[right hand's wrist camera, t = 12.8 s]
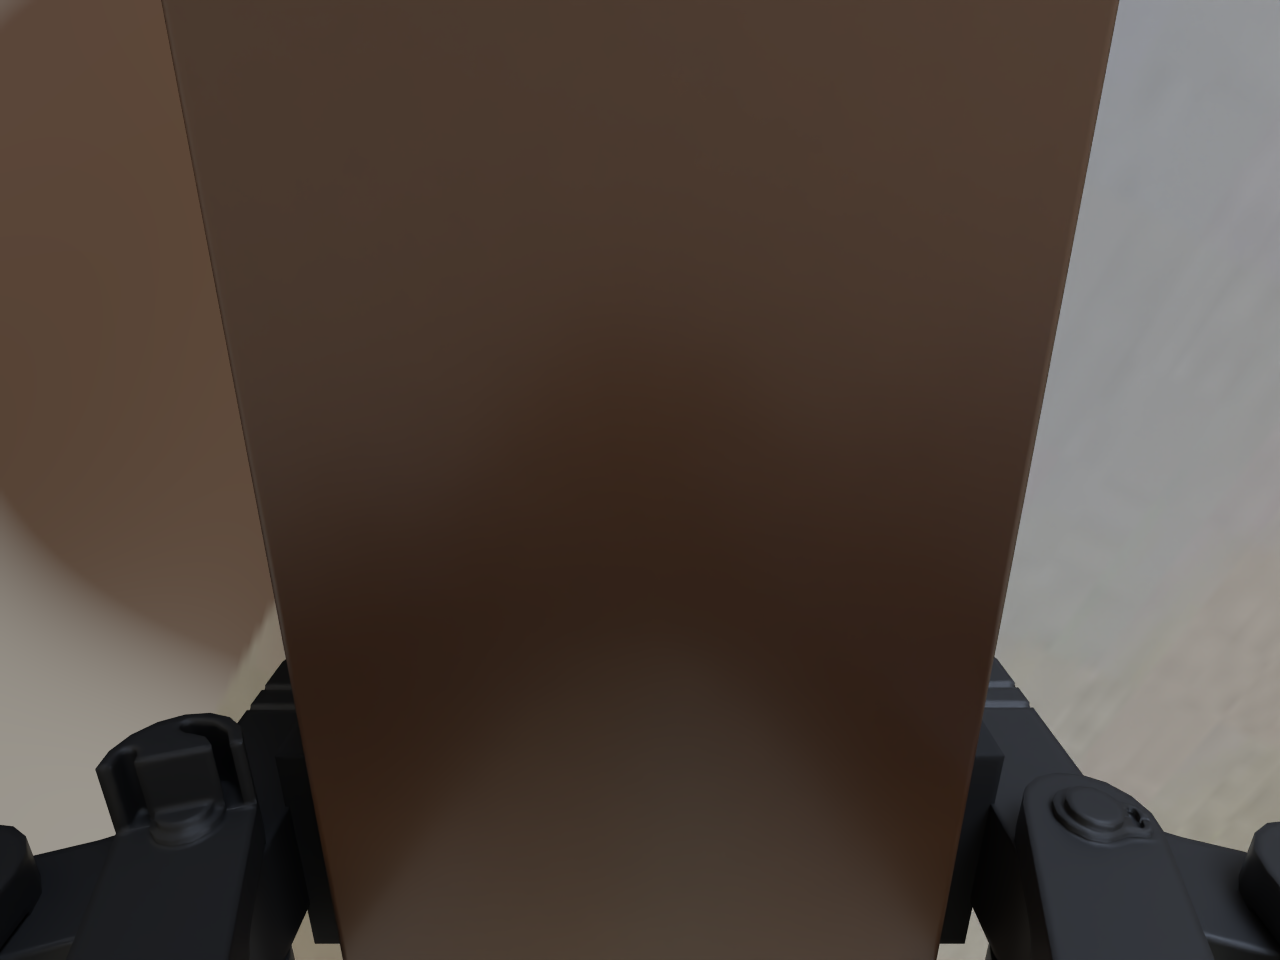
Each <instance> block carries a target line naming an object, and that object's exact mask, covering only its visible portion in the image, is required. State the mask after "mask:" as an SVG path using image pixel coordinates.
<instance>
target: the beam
mask: <svg viewBox="0 0 1280 960" xmlns="http://www.w3.org/2000/svg"><path fill="white" fill-rule="evenodd" d="M161 1H162V7H163V12H164V17H165V22H166V27H167V33H168V38H169V43H170V49H171V54H172V59H173V65H174V70H175V75H176V80H177V86H178V91H179V96H180V102H181V107H182V112H183V117H184V123H185V128H186V133H187V138H188V144H189V149H190V154H191V160H192V165H193V170H194V176H195V180H196V186H197V191H198V197H199V202H200V207H201V212H202V218H203V223H204V228H205V234H206V239H207V244H208V249H209V255H210V260H211V265H212V271H213V276H214V281H215V286H216V292H217V297H218V302H219V308H220V313H221V318H222V323H223V329H224V334H225V339H226V344H227V350H228V355H229V360H230V366H231V371H232V376H233V381H234V387H235V392H236V397H237V403H238V408H239V413H240V418H241V424H242V429H243V434H244V439H245V445H246V450H247V455H248V461H249V466H250V471H251V476H252V482H253V487H254V492H255V498H256V503H257V508H258V513H259V519H260V524H261V529H262V534H263V540H264V545H265V550H266V556H267V561H268V566H269V571H270V577H271V582H272V587H273V593H274V598H275V603H276V608H277V614H278V619H279V624H280V630H281V635H282V640H283V645H284V651H285V656H286V661H287V667H288V672H289V677H290V682H291V688H292V693H293V698H294V704H295V709H296V714H297V719H298V725H299V730H300V735H301V740H302V746H303V751H304V756H305V762H306V767H307V772H308V777H309V783H310V788H311V793H312V799H313V804H314V809H315V814H316V820H317V825H318V830H319V836H320V841H321V846H322V851H323V857H324V862H325V867H326V872H327V878H328V883H329V888H330V894H331V899H332V904H333V909H334V915H335V920H336V925H337V931H338V936H339V941H340V946H341V952H342V957H343V960H936V959H937V954H938V949H939V944H940V938H941V933H942V928H943V923H944V917H945V912H946V907H947V902H948V896H949V891H950V886H951V881H952V875H953V870H954V865H955V860H956V854H957V849H958V844H959V839H960V833H961V828H962V823H963V818H964V812H965V807H966V802H967V797H968V791H969V786H970V781H971V776H972V770H973V765H974V760H975V755H976V749H977V744H978V739H979V734H980V728H981V723H982V718H983V713H984V707H985V702H986V697H987V692H988V686H989V681H990V676H991V671H992V665H993V660H994V655H995V650H996V644H997V639H998V634H999V629H1000V623H1001V618H1002V613H1003V608H1004V602H1005V597H1006V592H1007V587H1008V581H1009V576H1010V571H1011V566H1012V560H1013V555H1014V550H1015V545H1016V540H1017V534H1018V529H1019V524H1020V519H1021V513H1022V508H1023V503H1024V498H1025V492H1026V487H1027V482H1028V477H1029V471H1030V466H1031V461H1032V456H1033V450H1034V445H1035V440H1036V435H1037V429H1038V424H1039V419H1040V414H1041V408H1042V403H1043V398H1044V393H1045V387H1046V382H1047V377H1048V372H1049V366H1050V361H1051V356H1052V351H1053V345H1054V340H1055V335H1056V330H1057V324H1058V319H1059V314H1060V309H1061V303H1062V298H1063V293H1064V288H1065V282H1066V277H1067V272H1068V267H1069V261H1070V256H1071V251H1072V246H1073V240H1074V235H1075V230H1076V225H1077V219H1078V214H1079V209H1080V204H1081V198H1082V193H1083V188H1084V183H1085V177H1086V172H1087V167H1088V162H1089V156H1090V151H1091V146H1092V141H1093V135H1094V130H1095V125H1096V120H1097V114H1098V109H1099V104H1100V99H1101V93H1102V88H1103V83H1104V78H1105V73H1106V67H1107V62H1108V57H1109V52H1110V46H1111V41H1112V36H1113V31H1114V25H1115V20H1116V15H1117V10H1118V4H1119V0H161Z"/></svg>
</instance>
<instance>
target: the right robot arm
mask: <svg viewBox="0 0 1280 960" xmlns="http://www.w3.org/2000/svg"><path fill="white" fill-rule="evenodd" d="M96 773H97V776H98V779H99V782H100V785H101V788H102V791H103V794H104V798H105V800H106V804H107V807H108V810H109V813H110V816H111V819H112V822H113V825H114V829H115V832H116V835H115V836H111V837H108V838H105V839H102V840H98V841H94V842H90V843H86V844H81V845H77V846H73V847H68V848H64V849H60V850H56V851H52V852H47V853H43V854H39V855H35V856H33V854H32V852H31V849H30V846H29V844H28V841H27V838H26V836H25V835H23V834H22V833H21V832H20V831H18V830H17V829H16V828H15V827H13V826H5V825H0V960H295V958H294V954H293V949H292V943H293V940H294V938H295V936H296V934H297V932H298V929H299V927H300V925H301V923H302V920H303V918H304V916H305V914H306V912H307V909H308V914H309V918H310V923H311V928H312V932H313V937H314V942H315V944H340V941H339V936H338V931H337V925H336V920H335V915H334V909H333V904H332V899H331V894H330V888H329V883H328V878H327V872H326V867H325V862H324V857H323V851H322V846H321V841H320V836H319V830H318V825H317V820H316V814H315V809H314V804H313V799H312V793H311V788H310V783H309V777H308V772H307V767H306V762H305V756H304V751H303V746H302V740H301V735H300V730H299V725H298V719H297V714H296V709H295V704H294V698H293V693H292V688H291V682H290V677H289V672H288V667H287V661H286V660H284V661H283V662H282V663H281V665H280V666H279V667H278V669H277V670H276V671H275V673H274V674H273V675H272V677H271V678H270V680H269V681H268V682H267V684H266V685H265V690H261V692H260V693H259V694H258V696H257V697H256V699H255V700H254V701H253V703H252V704H251V709H250V710H247V711H246V712H245V714H244V715H243V716H242V718H241V719H240V720H239V722H238V723H236V722H235V721H233V720H232V719H231V718H230V717H226V716H222V715H217V714H213V713H202V714H188V715H182V716H178V717H175V718H171V719H167V720H164V721H160V722H157V723H155V724H153V725H151V726H149V727H146V728H144V729H142V730H140V731H138V732H136V733H134V734H132V735H130V736H129V737H127V738H126V739H125V740H123V741H122V742H121V743H119V744H118V745H117V746H115V747H114V748H113V749H111V750H110V751H109V752H108V753H107V755H106V756H105V757H104V758H103V760H102V761H101V762H100V764H99V765H98V766H97V768H96ZM972 907H973V909H974V911H975V913H976V916H977V918H978V920H979V922H980V924H981V927H982V929H983V931H984V933H985V935H986V938H987V940H988V942H989V945H988V949H987V954H986V958H985V960H1280V822H1272V823H1267V824H1265V825H1264V826H1263V827H1262V828H1260V829H1259V830H1258V831H1257V832H1255V834H1254V836H1253V839H1252V842H1251V844H1250V847H1249V850H1248V852H1243V851H1238V850H1234V849H1230V848H1225V847H1221V846H1217V845H1213V844H1208V843H1204V842H1200V841H1196V840H1191V839H1187V838H1183V837H1179V836H1176V835H1173V834H1169V833H1166V832H1164V831H1163V830H1162V828H1161V827H1160V825H1159V824H1158V822H1157V821H1156V819H1155V818H1154V816H1153V815H1152V813H1151V812H1149V811H1148V810H1147V809H1146V808H1145V807H1143V806H1142V805H1141V804H1140V803H1139V802H1138V801H1136V800H1135V799H1134V798H1133V797H1132V796H1130V795H1128V794H1127V793H1125V792H1123V791H1121V790H1119V789H1117V788H1115V787H1113V786H1112V785H1110V784H1108V783H1106V782H1103V781H1100V780H1096V779H1093V778H1090V777H1087V776H1083V774H1082V773H1081V772H1080V770H1079V769H1078V768H1077V766H1076V765H1075V763H1074V762H1073V761H1072V759H1071V758H1070V757H1069V755H1068V754H1067V753H1066V751H1065V750H1064V749H1063V747H1062V746H1061V745H1060V743H1059V742H1058V741H1057V739H1056V738H1055V736H1054V735H1053V734H1052V732H1051V731H1050V730H1049V728H1048V727H1047V726H1046V724H1045V723H1044V722H1043V720H1042V719H1041V718H1040V716H1039V715H1038V714H1037V712H1036V711H1035V710H1034V708H1030V706H1029V701H1028V700H1027V699H1026V697H1025V696H1024V695H1023V693H1022V692H1021V691H1020V689H1019V688H1015V683H1014V681H1013V680H1012V678H1011V677H1010V676H1009V674H1008V673H1007V672H1006V670H1005V669H1004V668H1003V666H1002V665H1001V664H1000V662H999V661H998V660H997V659H996V658H995V657H994V660H993V665H992V671H991V676H990V681H989V686H988V692H987V697H986V702H985V707H984V713H983V718H982V723H981V728H980V734H979V739H978V744H977V749H976V755H975V760H974V765H973V770H972V776H971V781H970V786H969V791H968V797H967V802H966V807H965V812H964V818H963V823H962V828H961V833H960V839H959V844H958V849H957V854H956V860H955V865H954V870H953V875H952V881H951V886H950V891H949V896H948V902H947V907H946V912H945V917H944V923H943V928H942V933H941V938H940V944H965V939H966V934H967V930H968V925H969V921H970V916H971V911H972Z"/></svg>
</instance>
